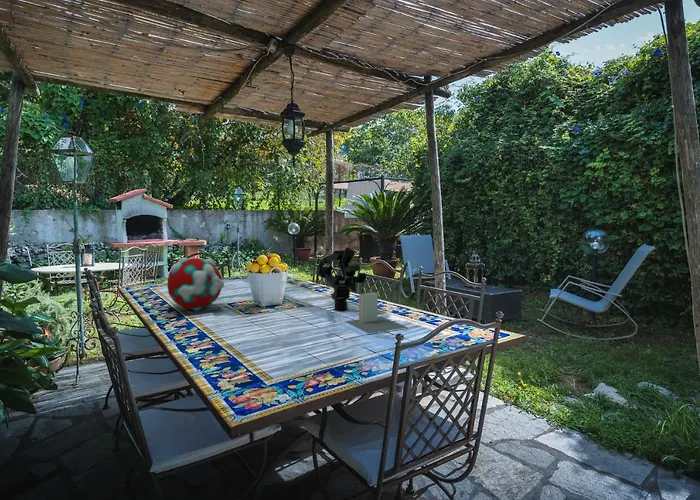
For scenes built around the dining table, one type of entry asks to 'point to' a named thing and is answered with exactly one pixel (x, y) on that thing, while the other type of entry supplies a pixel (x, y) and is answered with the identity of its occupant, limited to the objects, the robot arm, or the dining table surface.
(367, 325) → the mat
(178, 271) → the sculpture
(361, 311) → the tile
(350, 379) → the dining table surface
